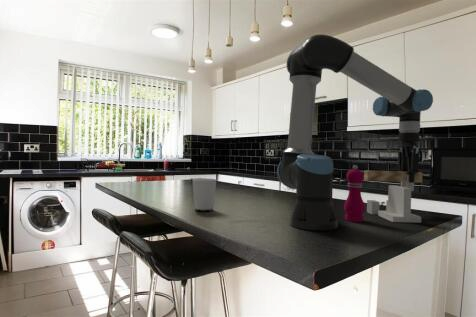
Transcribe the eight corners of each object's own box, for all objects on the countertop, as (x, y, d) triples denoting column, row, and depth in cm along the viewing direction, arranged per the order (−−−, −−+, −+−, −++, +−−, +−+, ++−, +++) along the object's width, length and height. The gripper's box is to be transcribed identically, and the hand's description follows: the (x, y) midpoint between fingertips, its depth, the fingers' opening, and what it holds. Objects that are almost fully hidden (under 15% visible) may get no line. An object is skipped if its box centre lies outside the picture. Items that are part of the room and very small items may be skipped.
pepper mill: (361, 218, 119) (362, 164, 119) (367, 222, 112) (368, 165, 112) (341, 217, 120) (342, 164, 119) (346, 222, 113) (347, 165, 112)
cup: (188, 209, 134) (189, 178, 133) (211, 207, 138) (211, 178, 137) (196, 213, 125) (196, 180, 124) (219, 211, 129) (220, 180, 128)
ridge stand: (392, 222, 114) (393, 188, 114) (378, 215, 126) (378, 185, 126) (421, 222, 114) (421, 188, 114) (403, 216, 126) (404, 185, 125)
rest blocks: (371, 214, 128) (372, 201, 128) (366, 212, 133) (367, 200, 133) (399, 214, 128) (399, 202, 128) (393, 212, 133) (393, 200, 133)
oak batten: (367, 180, 129) (367, 170, 129) (363, 180, 132) (364, 170, 132) (422, 182, 129) (422, 172, 129) (417, 181, 132) (417, 172, 132)
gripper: (430, 131, 122) (428, 192, 122) (407, 134, 138) (405, 188, 139) (410, 130, 122) (408, 192, 122) (390, 133, 139) (388, 187, 139)
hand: (407, 190), depth 130 cm, fingers closed on oak batten, 3 cm apart
